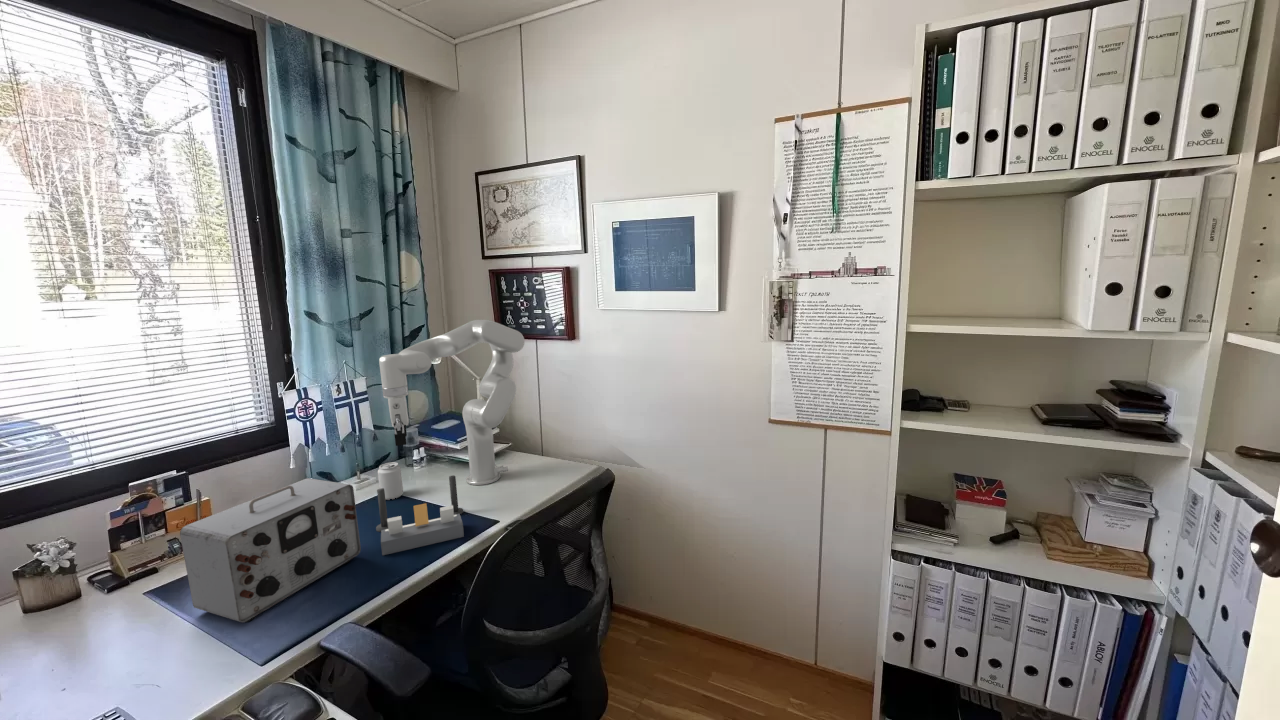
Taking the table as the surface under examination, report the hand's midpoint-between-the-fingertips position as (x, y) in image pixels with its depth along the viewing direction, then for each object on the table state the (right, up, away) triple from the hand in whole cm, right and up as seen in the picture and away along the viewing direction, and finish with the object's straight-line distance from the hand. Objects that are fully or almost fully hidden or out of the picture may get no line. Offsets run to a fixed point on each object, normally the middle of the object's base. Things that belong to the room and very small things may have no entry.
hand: (401, 440), depth 172 cm
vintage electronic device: (-10, -31, -41) cm, 52 cm away
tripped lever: (+16, -22, -21) cm, 34 cm away
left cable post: (+1, -26, -12) cm, 28 cm away
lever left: (+10, -23, -24) cm, 34 cm away
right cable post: (+19, -24, -3) cm, 31 cm away
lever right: (+22, -22, -18) cm, 36 cm away
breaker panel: (+16, -26, -20) cm, 37 cm away
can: (-9, -22, +12) cm, 27 cm away
